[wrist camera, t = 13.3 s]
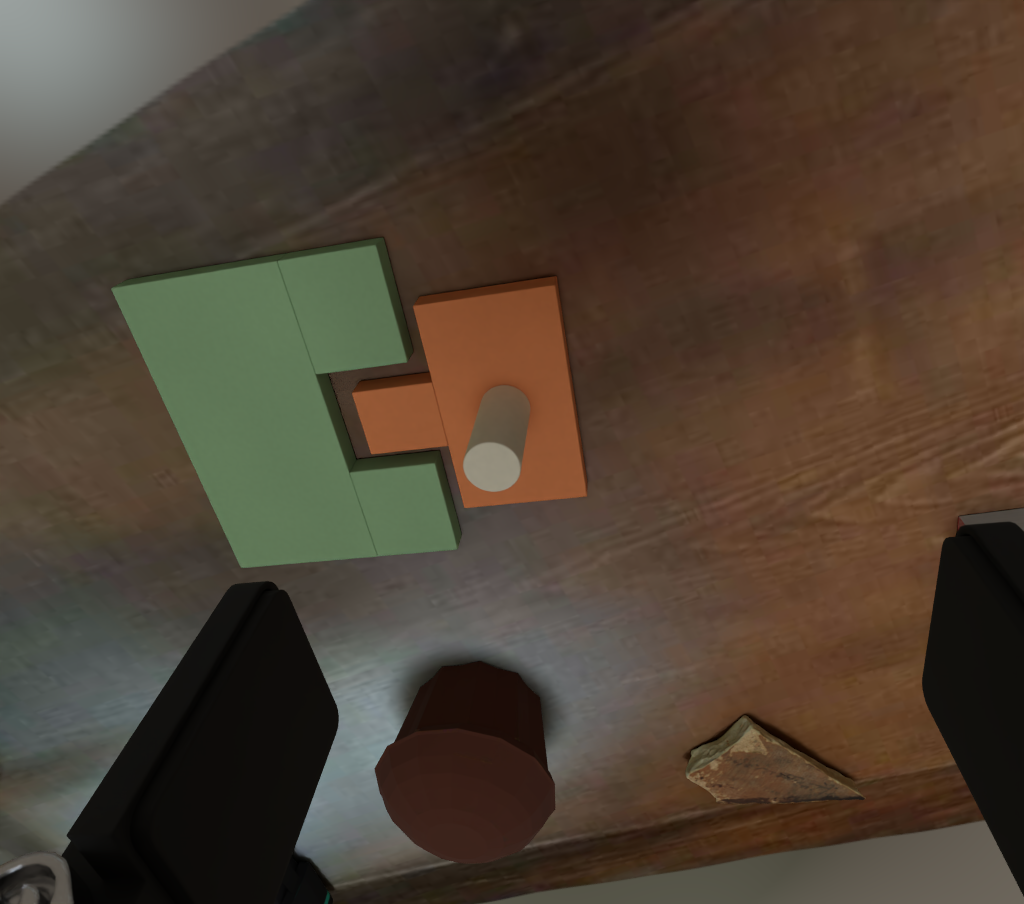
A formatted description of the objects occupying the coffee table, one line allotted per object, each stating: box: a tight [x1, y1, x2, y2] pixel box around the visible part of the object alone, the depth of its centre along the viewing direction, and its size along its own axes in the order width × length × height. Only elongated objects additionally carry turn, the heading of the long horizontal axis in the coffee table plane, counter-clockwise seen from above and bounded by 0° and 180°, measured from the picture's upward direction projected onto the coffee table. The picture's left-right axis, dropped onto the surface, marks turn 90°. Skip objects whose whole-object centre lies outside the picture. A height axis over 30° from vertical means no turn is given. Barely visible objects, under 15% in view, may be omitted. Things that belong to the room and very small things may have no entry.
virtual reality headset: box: [274, 855, 333, 904], centre depth 58 cm, size 11×17×10 cm, turn 18°
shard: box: [686, 715, 865, 804], centre depth 50 cm, size 11×8×2 cm
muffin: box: [375, 661, 555, 863], centre depth 46 cm, size 12×11×10 cm
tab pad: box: [352, 276, 587, 508], centre depth 35 cm, size 12×11×8 cm
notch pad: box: [111, 238, 462, 568], centre depth 39 cm, size 18×14×2 cm
